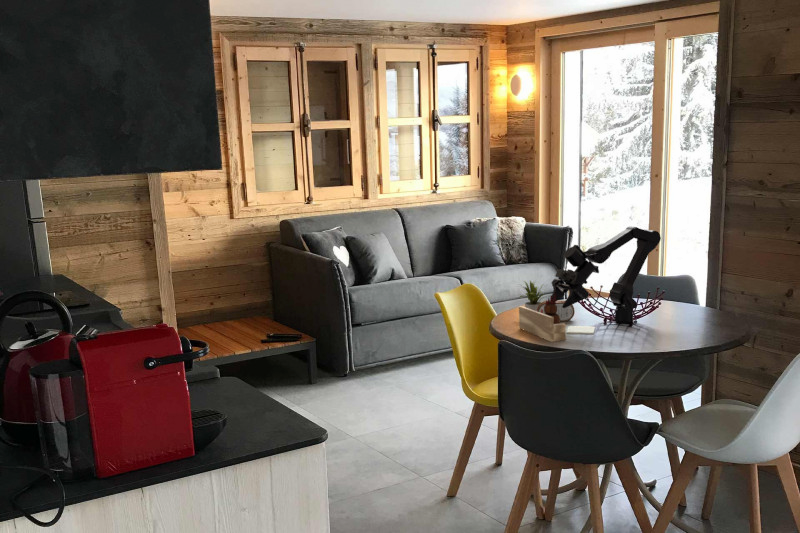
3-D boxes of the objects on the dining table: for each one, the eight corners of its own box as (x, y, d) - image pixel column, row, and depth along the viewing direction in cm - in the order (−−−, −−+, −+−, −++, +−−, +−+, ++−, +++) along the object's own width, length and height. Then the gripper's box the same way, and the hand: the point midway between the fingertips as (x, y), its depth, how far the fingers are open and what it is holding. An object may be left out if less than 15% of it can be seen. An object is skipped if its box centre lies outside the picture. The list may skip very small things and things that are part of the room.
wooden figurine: (560, 331, 303) (560, 293, 301) (558, 334, 298) (558, 295, 295) (543, 330, 305) (542, 292, 303) (540, 334, 300) (540, 295, 298)
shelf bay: (533, 326, 312) (532, 304, 311) (565, 339, 290) (565, 315, 289) (519, 328, 310) (518, 306, 309) (551, 341, 288) (550, 317, 287)
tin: (574, 320, 321) (574, 299, 320) (575, 321, 318) (574, 301, 317) (537, 320, 323) (536, 300, 321) (537, 322, 320) (537, 302, 318)
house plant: (507, 317, 332) (506, 279, 330) (532, 312, 339) (532, 275, 336) (528, 322, 320) (527, 283, 317) (554, 317, 326) (554, 279, 324)
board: (595, 328, 305) (595, 326, 305) (593, 334, 296) (593, 332, 296) (568, 327, 308) (568, 326, 308) (566, 333, 299) (566, 332, 299)
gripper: (555, 258, 309) (531, 288, 307) (581, 264, 291) (556, 296, 289) (572, 276, 313) (548, 306, 311) (600, 283, 295) (574, 315, 293)
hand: (556, 305), depth 301 cm, fingers open, 9 cm apart
